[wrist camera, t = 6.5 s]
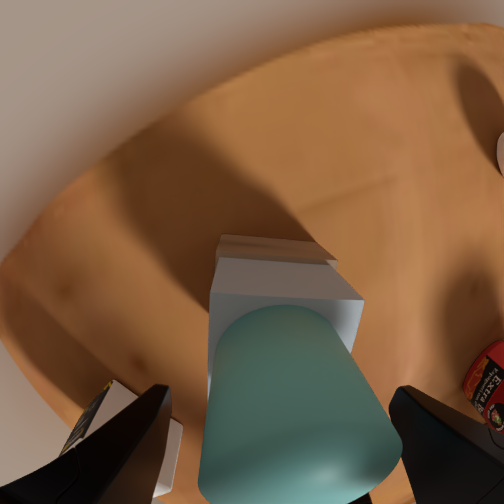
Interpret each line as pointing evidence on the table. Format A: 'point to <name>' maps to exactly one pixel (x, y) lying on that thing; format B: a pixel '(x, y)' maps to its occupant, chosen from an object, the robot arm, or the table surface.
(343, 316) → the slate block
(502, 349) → the canned food
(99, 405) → the medicine bottle
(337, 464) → the teal cylinder
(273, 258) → the walnut block
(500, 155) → the plain white apple
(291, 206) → the table surface
